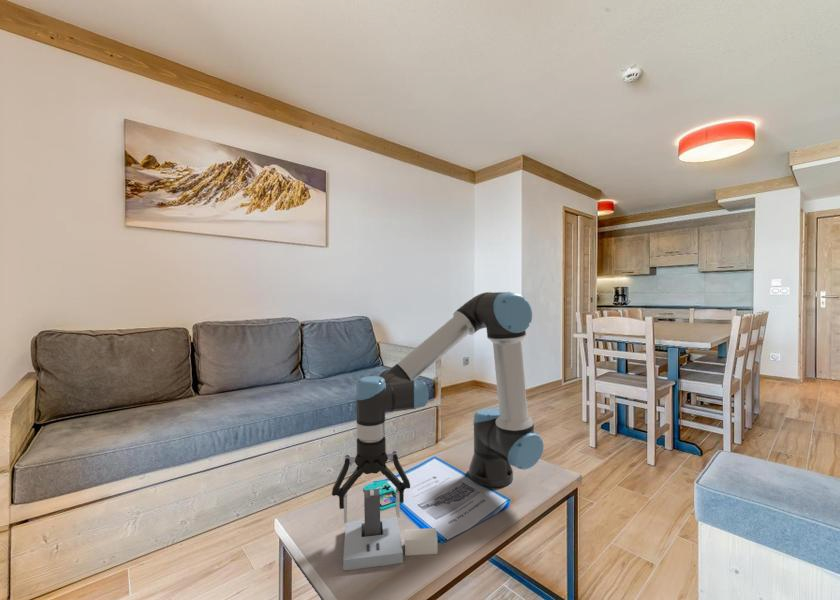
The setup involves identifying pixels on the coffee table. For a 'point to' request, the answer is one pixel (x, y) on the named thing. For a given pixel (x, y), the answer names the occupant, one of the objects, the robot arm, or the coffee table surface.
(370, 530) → the charger brick
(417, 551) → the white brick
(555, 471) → the coffee table surface
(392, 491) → the handheld gaming console
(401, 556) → the outlet plate
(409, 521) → the coffee table surface
